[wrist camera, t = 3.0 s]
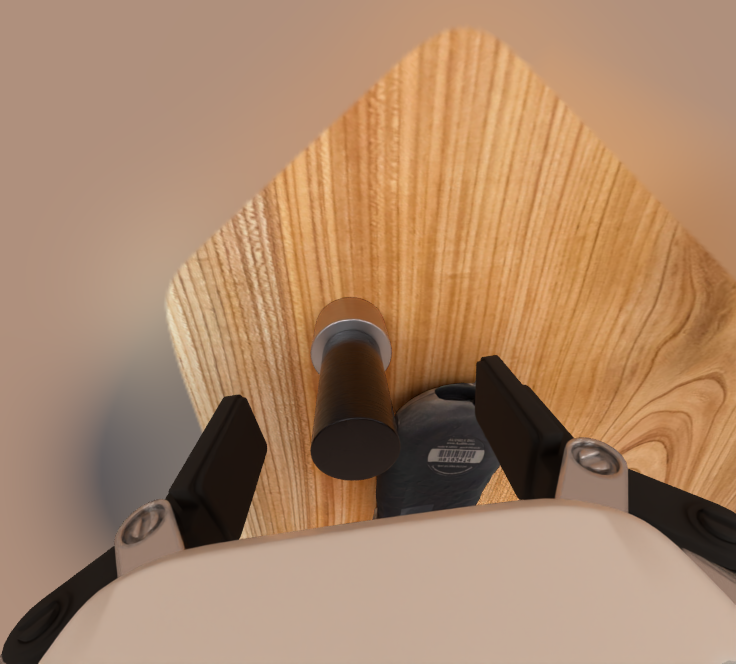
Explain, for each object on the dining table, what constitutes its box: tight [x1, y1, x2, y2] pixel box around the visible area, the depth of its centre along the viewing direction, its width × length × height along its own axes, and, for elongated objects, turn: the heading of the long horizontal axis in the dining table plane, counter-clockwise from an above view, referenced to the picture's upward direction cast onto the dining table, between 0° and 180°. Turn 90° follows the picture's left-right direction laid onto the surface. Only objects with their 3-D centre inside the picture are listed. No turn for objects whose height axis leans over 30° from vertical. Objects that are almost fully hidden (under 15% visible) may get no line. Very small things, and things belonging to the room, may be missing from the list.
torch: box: [311, 297, 400, 481], centre depth 14 cm, size 4×4×9 cm
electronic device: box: [372, 381, 500, 520], centre depth 22 cm, size 9×6×15 cm
